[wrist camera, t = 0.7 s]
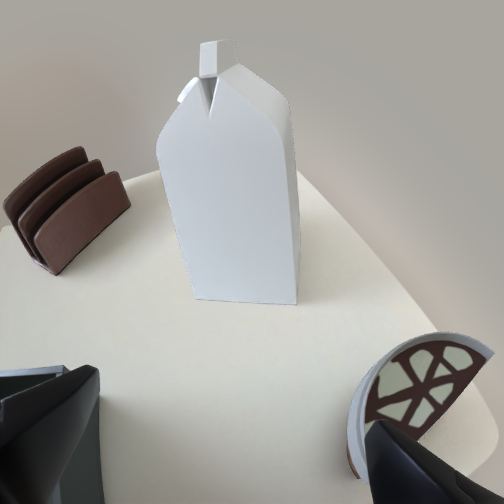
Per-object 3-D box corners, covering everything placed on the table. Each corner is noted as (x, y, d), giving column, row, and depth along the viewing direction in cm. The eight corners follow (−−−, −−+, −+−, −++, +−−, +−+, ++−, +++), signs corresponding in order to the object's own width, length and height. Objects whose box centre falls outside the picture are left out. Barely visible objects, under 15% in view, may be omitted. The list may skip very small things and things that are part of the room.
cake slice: (405, 360, 25) (441, 296, 18) (444, 401, 21) (498, 348, 14) (302, 437, 21) (309, 401, 15) (342, 489, 17) (374, 482, 11)
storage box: (108, 526, 15) (63, 523, 10) (-3, 500, 13) (-44, 484, 9) (99, 394, 26) (63, 364, 21) (1, 398, 24) (-32, 372, 20)
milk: (296, 304, 32) (283, 34, 15) (195, 299, 34) (122, 63, 17) (300, 234, 41) (290, 33, 24) (219, 233, 43) (181, 46, 26)
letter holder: (33, 262, 44) (-3, 199, 35) (102, 200, 56) (79, 140, 47) (56, 277, 40) (13, 205, 31) (132, 205, 53) (108, 137, 43)
